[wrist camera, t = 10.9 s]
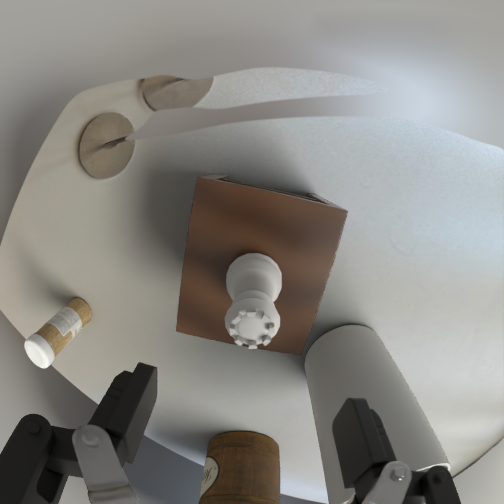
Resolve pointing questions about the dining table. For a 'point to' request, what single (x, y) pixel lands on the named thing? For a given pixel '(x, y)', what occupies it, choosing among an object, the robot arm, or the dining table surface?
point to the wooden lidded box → (263, 242)
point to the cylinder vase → (376, 394)
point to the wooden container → (241, 470)
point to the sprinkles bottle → (57, 333)
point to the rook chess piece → (253, 299)
